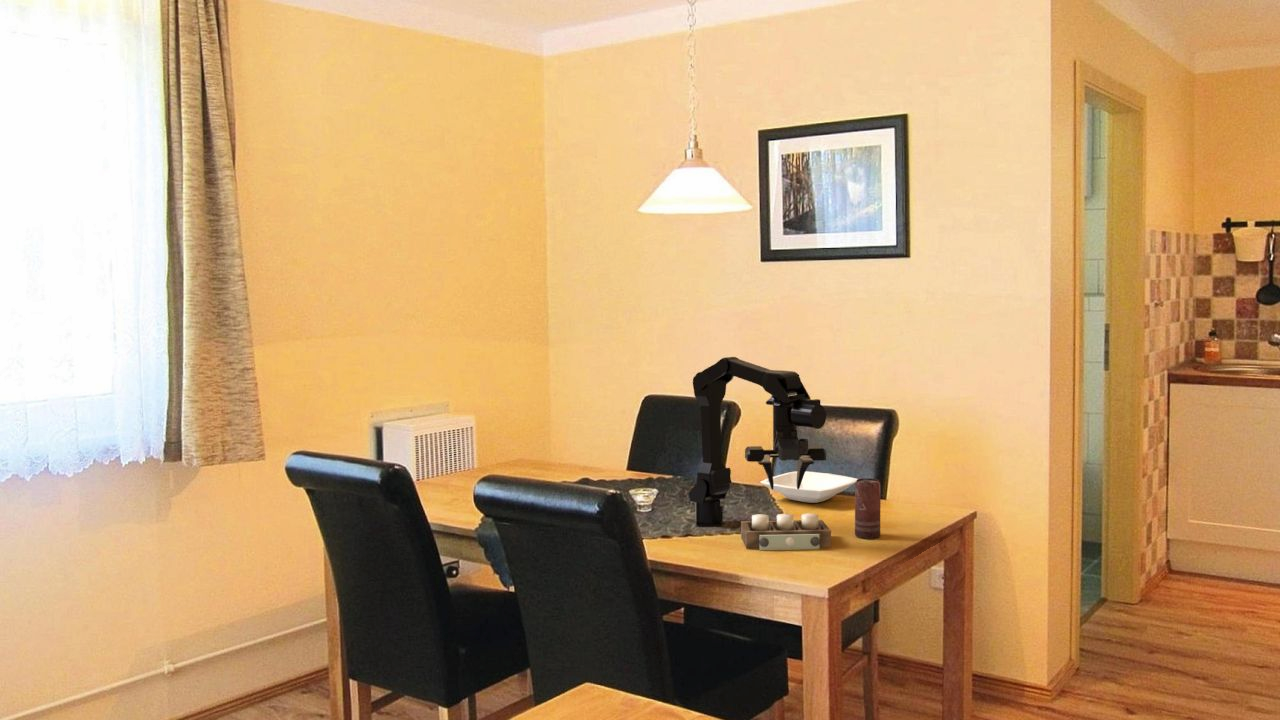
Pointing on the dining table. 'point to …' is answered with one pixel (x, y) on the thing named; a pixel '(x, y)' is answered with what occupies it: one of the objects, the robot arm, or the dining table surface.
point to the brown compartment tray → (783, 533)
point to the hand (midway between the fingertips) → (785, 488)
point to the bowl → (810, 486)
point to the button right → (809, 521)
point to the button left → (760, 522)
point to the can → (867, 508)
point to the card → (789, 542)
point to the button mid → (785, 521)
